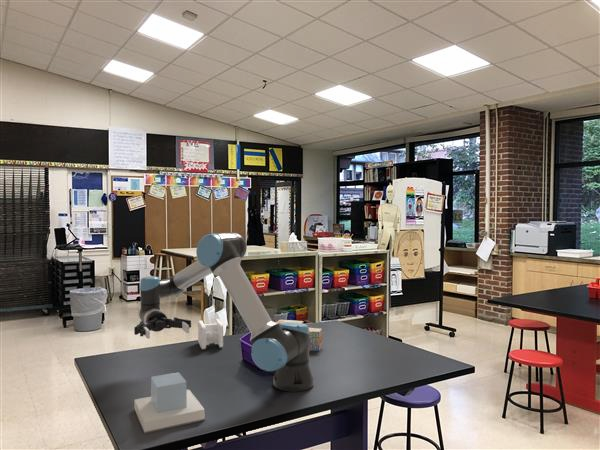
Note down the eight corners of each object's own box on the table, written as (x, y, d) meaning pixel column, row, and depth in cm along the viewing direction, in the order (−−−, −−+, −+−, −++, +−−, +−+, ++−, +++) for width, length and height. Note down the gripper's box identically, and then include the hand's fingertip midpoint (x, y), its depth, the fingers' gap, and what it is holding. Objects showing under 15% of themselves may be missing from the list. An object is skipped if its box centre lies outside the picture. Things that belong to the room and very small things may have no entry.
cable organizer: (223, 349, 216) (223, 325, 216) (200, 351, 213) (200, 326, 212) (218, 340, 230) (218, 317, 230) (197, 342, 227) (196, 319, 226)
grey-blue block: (186, 415, 145) (186, 382, 144) (157, 421, 140) (157, 387, 140) (179, 403, 154) (178, 372, 153) (151, 408, 149) (150, 376, 149)
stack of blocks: (322, 347, 219) (322, 322, 219) (318, 351, 213) (319, 325, 213) (279, 344, 226) (279, 319, 225) (275, 347, 219) (275, 322, 219)
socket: (204, 420, 143) (204, 409, 143) (144, 433, 135) (144, 421, 135) (189, 399, 159) (189, 389, 159) (134, 410, 150) (134, 399, 150)
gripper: (187, 325, 185) (203, 337, 167) (121, 334, 173) (131, 348, 155) (187, 306, 185) (203, 316, 167) (121, 314, 173) (130, 325, 154)
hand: (168, 332), depth 161 cm, fingers open, 13 cm apart
